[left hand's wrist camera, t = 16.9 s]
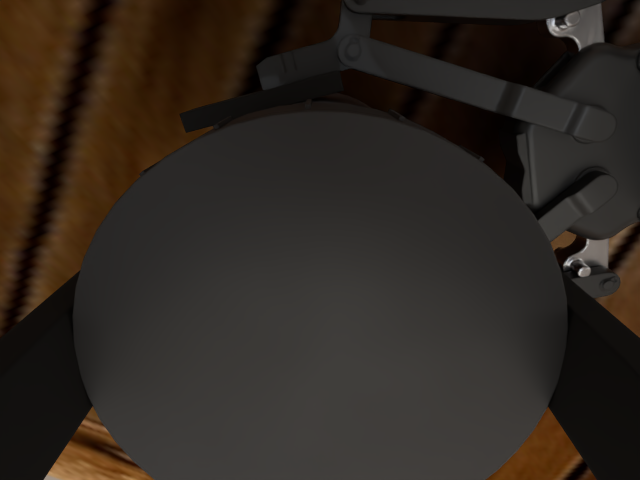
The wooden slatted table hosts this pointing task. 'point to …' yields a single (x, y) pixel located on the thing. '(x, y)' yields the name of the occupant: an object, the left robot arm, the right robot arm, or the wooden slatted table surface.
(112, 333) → the lid
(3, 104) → the wooden slatted table surface
